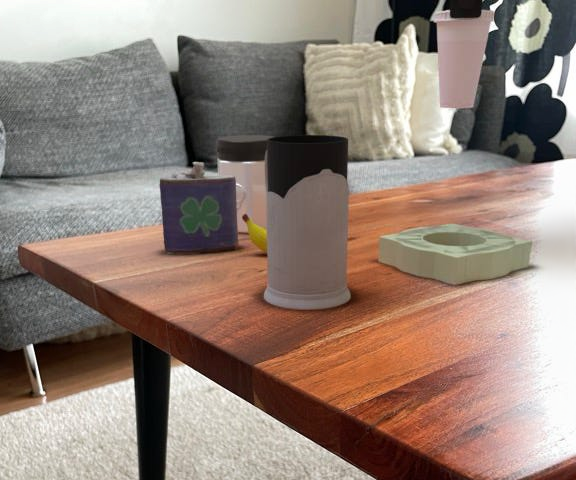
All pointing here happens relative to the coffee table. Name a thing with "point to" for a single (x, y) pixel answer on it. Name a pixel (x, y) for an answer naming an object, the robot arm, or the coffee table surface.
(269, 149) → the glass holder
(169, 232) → the flask
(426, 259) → the ashtray
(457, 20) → the smoothie
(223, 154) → the jar
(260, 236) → the fruit
